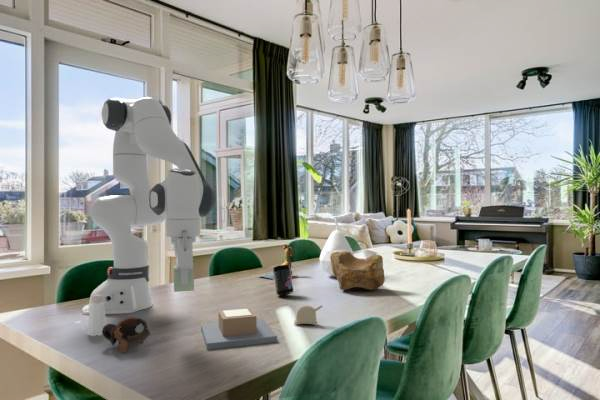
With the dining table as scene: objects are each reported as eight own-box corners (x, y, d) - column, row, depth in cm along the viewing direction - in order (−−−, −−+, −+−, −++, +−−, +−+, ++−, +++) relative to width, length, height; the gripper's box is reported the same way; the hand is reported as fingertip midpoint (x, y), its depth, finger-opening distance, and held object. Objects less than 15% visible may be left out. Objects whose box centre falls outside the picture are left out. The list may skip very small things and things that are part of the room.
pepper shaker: (83, 334, 121) (83, 294, 121) (103, 330, 125) (103, 291, 125) (90, 338, 117) (90, 297, 117) (111, 334, 121) (110, 294, 121)
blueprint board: (207, 349, 107) (206, 324, 107) (201, 329, 125) (200, 307, 125) (277, 341, 113) (276, 318, 113) (262, 323, 130) (261, 302, 130)
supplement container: (284, 291, 161) (280, 264, 165) (272, 295, 165) (269, 269, 169) (297, 291, 166) (293, 265, 170) (285, 296, 170) (281, 270, 174)
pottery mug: (153, 340, 115) (155, 317, 112) (141, 368, 107) (143, 344, 103) (107, 332, 114) (108, 308, 111) (91, 359, 106) (92, 335, 102)
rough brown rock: (319, 291, 175) (318, 254, 175) (334, 284, 190) (334, 250, 190) (375, 296, 165) (374, 257, 165) (386, 288, 180) (386, 252, 180)
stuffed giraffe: (307, 277, 209) (306, 244, 209) (279, 282, 196) (279, 247, 196) (284, 273, 220) (284, 242, 220) (257, 278, 207) (256, 245, 207)
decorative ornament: (294, 320, 131) (295, 303, 131) (322, 321, 131) (322, 304, 131) (293, 324, 127) (294, 306, 127) (322, 325, 127) (322, 307, 127)
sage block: (174, 291, 112) (174, 268, 112) (173, 288, 117) (173, 265, 117) (193, 290, 114) (193, 267, 114) (192, 286, 119) (192, 265, 119)
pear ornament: (314, 278, 202) (313, 219, 203) (332, 271, 222) (332, 217, 223) (347, 281, 195) (346, 219, 195) (363, 273, 215) (362, 217, 215)
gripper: (198, 232, 107) (198, 288, 107) (193, 226, 126) (193, 274, 126) (171, 232, 105) (172, 289, 105) (170, 227, 124) (170, 275, 124)
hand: (183, 281), depth 116 cm, fingers closed on sage block, 5 cm apart
